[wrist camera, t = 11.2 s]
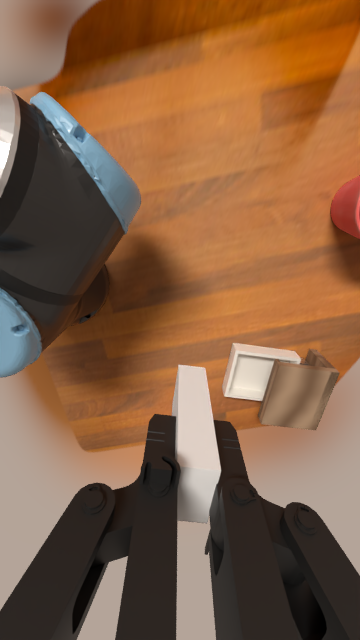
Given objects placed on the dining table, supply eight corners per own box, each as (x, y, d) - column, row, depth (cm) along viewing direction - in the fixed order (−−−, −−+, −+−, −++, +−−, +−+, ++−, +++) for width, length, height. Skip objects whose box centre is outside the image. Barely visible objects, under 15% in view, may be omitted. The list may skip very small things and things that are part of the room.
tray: (222, 387, 54) (224, 396, 51) (232, 342, 50) (235, 350, 48) (279, 394, 55) (285, 404, 52) (294, 351, 51) (301, 358, 48)
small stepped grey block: (281, 390, 54) (285, 398, 52) (292, 356, 51) (298, 363, 49) (291, 392, 54) (296, 399, 52) (303, 357, 51) (308, 364, 49)
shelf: (250, 395, 55) (261, 424, 47) (264, 343, 50) (279, 365, 43) (297, 401, 55) (316, 430, 48) (316, 349, 51) (339, 372, 43)
